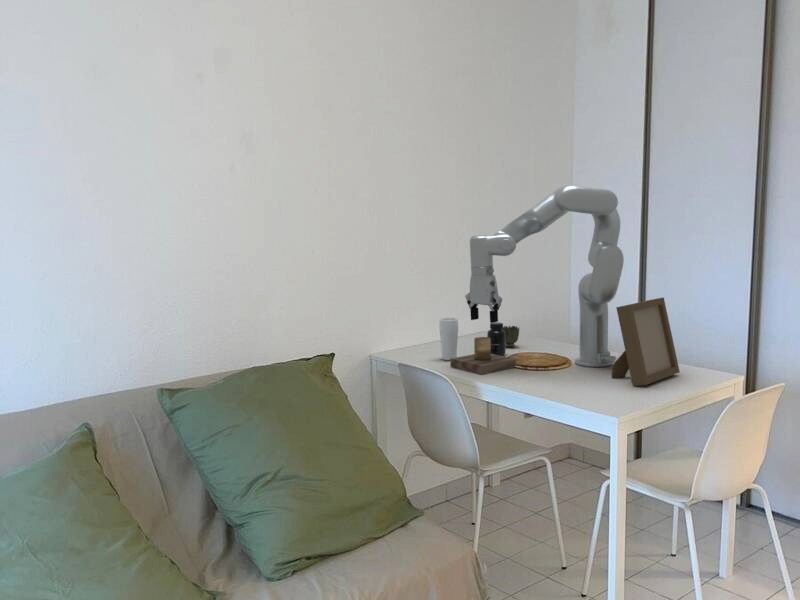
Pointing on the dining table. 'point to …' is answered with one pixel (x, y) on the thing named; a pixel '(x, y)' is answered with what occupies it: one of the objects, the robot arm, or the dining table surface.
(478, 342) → the tan translucent cylinder
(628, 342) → the photo frame
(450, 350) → the drinking glass
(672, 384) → the dining table surface
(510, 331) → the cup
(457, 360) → the walnut socket block
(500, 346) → the supplement bottle
